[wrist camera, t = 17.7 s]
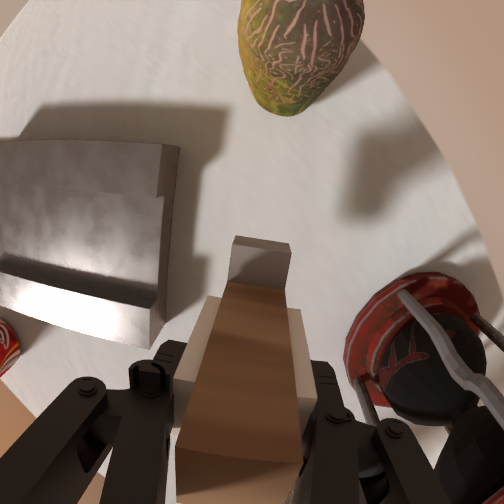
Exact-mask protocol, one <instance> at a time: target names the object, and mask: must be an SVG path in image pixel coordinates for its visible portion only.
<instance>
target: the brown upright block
mask: <svg viewBox="0 0 504 504" xmlns="http://www.w3.org/2000/svg"><path fill="white" fill-rule="evenodd" d="M290 259H291V249H290V246H289V244H288V243H282V242H275V241H269V240H262V239H256V238H249V237H242V236H235V239H234V241H233V244H232V250H231V257H230V265H229V273H228V280H227V284H226V287H225V290H224V293H223V296H222V299H221V302H220V305H219V309H218V312H217V315H216V318H215V321H214V324H213V327H212V330H211V333H210V336H209V340H208V343H207V346H206V349H205V352H204V355H203V358H202V362H201V365H200V368H199V371H198V374H197V377H196V380H195V384H194V387H193V390H192V393H191V396H190V400H189V403H188V406H187V409H186V412H185V416H184V419H183V422H182V425H181V428H180V432H179V435H178V438H177V441H176V445H175V471H176V497H177V503H182V504H284V503H285V501H286V499H287V497H288V495H289V493H290V491H291V489H292V487H293V485H294V483H295V481H296V478H297V476H298V474H299V472H300V470H301V468H302V465H303V452H302V441H301V431H300V421H299V411H298V401H297V392H296V382H295V373H294V364H293V356H292V347H291V338H290V330H289V322H288V313H287V305H286V297H285V285H286V280H287V275H288V270H289V264H290Z"/></svg>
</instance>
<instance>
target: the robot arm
mask: <svg viewBox="0 0 504 504" xmlns="http://www.w3.org/2000/svg"><path fill="white" fill-rule="evenodd" d="M221 299H222V298H219V297H213V296H208V297H207V299H206V301H205V303H204V306H203V308H202V310H201V313H200V315H199V317H198V320H197V322H196V325H195V327H194V329H193V332H192V334H191V336H190V339H189V341H188V343H184V342H179V341H174V340H168V341H166V342H165V343H163V344H161V345H160V347H159V349H158V351H157V354H156V355H155V356H154V359H153V360H141V361H137V362H135V363H133V364H132V365H131V366H130V367H129V381H130V389H125V390H111V389H106V385H105V384H104V383H103V382H102V381H101V380H99V379H97V378H94V377H80V378H77V379H75V380H74V381H72V382H71V383H70V384H69V385H68V386H67V387H66V388H65V389H64V390H63V391H62V392H61V393H60V394H59V396H58V397H57V398H56V399H55V400H54V401H53V402H52V403H51V404H50V405H49V406H48V407H47V408H46V409H45V410H44V411H43V412H42V413H41V415H40V416H39V417H38V418H37V419H36V420H35V421H34V422H33V423H32V424H31V426H29V427H28V428H27V430H26V431H25V432H24V433H23V434H22V435H21V436H20V437H19V439H17V440H16V442H15V443H14V444H13V445H12V446H11V447H10V448H9V449H8V450H7V452H6V453H5V454H4V455H3V456H2V457H1V458H0V504H77V503H78V501H79V500H80V498H81V497H82V495H83V493H84V492H85V490H86V489H87V487H88V485H89V484H90V482H91V481H92V479H93V477H94V476H95V474H96V472H97V471H98V470H99V468H100V466H101V465H102V463H103V462H104V460H105V458H106V457H107V455H108V454H109V452H110V451H111V449H112V447H113V450H112V454H111V458H110V462H109V465H108V469H107V474H106V478H105V482H104V487H103V490H102V495H101V499H100V504H165V496H166V483H167V472H168V461H169V451H170V433H171V430H172V427H173V434H177V435H179V432H180V428H181V425H182V422H183V419H184V416H185V412H186V409H187V406H188V403H189V400H190V396H191V393H192V390H193V387H194V384H195V380H196V377H197V374H198V371H199V368H200V365H201V362H202V358H203V355H204V352H205V349H206V346H207V343H208V340H209V336H210V333H211V330H212V327H213V324H214V321H215V318H216V315H217V312H218V309H219V305H220V302H221ZM287 313H288V322H289V330H290V338H291V347H292V356H293V364H294V373H295V382H296V392H297V401H298V411H299V421H300V431H301V441H302V452H303V465H302V468H301V470H300V472H299V474H298V476H297V478H296V483H295V490H294V496H293V503H292V504H359V503H360V504H451V502H450V500H449V498H448V496H447V495H446V493H445V491H444V489H443V487H442V485H441V483H440V481H439V479H438V478H437V476H436V474H435V472H434V470H433V468H432V466H431V465H430V463H429V461H428V459H427V457H426V455H425V454H424V452H423V450H422V448H421V446H420V445H419V443H418V441H417V439H416V437H415V436H414V434H413V432H412V430H411V429H410V427H409V426H408V425H407V424H406V423H404V422H403V421H401V420H398V419H395V418H387V419H383V420H381V421H380V422H379V423H378V425H377V426H373V425H369V424H365V423H362V422H359V421H357V420H355V417H354V414H353V413H352V412H351V411H350V410H349V409H347V408H345V407H344V404H343V400H342V396H341V393H340V389H339V386H338V382H337V379H336V375H335V371H334V369H333V368H332V367H331V366H330V364H329V363H328V362H324V361H313V360H310V356H309V351H308V345H307V340H306V335H305V330H304V325H303V320H302V315H301V311H300V309H293V308H287Z"/></svg>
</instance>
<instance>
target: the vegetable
mask: <svg viewBox="0 0 504 504" xmlns="http://www.w3.org/2000/svg"><path fill="white" fill-rule="evenodd" d="M364 19H365V13H364V4H363V0H242V1H241V10H240V15H239V19H238V43H239V45H238V46H239V53H240V57H241V60H242V64H243V69H244V74H245V76H246V79H247V81H248V83H249V86H250V89H251V91H252V94H253V96H254V98H255V99H256V101H257V102H258V104H259V105H260V106H261V107H263V108H264V109H265V110H267V111H269V112H271V113H273V114H276V115H280V116H294V115H297V114H299V113H301V112H303V111H304V110H306V109H307V108H308V107H309V106H310V105H311V104H312V103H313V102H314V101H315V100H316V99H317V97H318V96H319V95H320V94H321V93H322V92H323V91H324V89H325V88H326V87H327V86H328V85H329V84H330V83H331V82H332V81H333V80H334V79H335V77H336V76H337V75H338V74H339V73H340V72H341V70H342V69H343V67H344V66H345V64H346V62H347V61H348V59H349V56H350V54H351V53H352V51H353V50H354V49H355V47H356V45H357V44H358V42H359V39H360V36H361V33H362V30H363V25H364Z"/></svg>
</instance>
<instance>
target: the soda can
mask: <svg viewBox="0 0 504 504" xmlns="http://www.w3.org/2000/svg"><path fill="white" fill-rule="evenodd" d="M19 357H20V346H19V343H18V339H17V337H16V335H15V333H14V331H13V330H12V329H11V327H10V326H9V325H8V324H6V323H5V322H4V321H3V320H1V319H0V377H1V376H2V375H3V374H4V373H5V372H6V371H8V370H9V369H10V368H11V367H12V366H13V364H14V363H15V362H16V361H17V360H18V358H19Z"/></svg>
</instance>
